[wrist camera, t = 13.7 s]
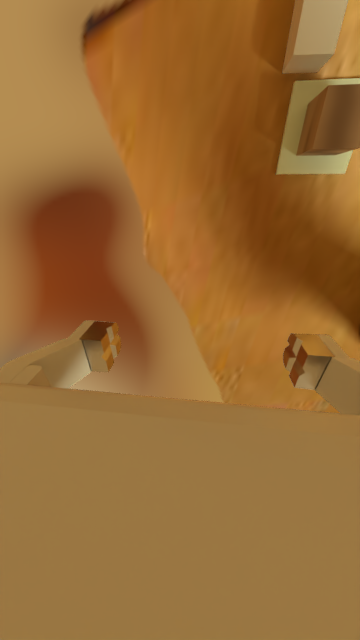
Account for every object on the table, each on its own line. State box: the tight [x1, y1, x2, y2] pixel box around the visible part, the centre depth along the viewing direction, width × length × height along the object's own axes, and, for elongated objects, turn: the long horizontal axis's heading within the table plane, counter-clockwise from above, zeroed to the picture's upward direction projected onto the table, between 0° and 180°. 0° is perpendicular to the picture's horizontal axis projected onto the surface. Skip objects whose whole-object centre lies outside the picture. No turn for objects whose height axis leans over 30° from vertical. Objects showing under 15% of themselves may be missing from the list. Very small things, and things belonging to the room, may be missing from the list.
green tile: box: [275, 78, 360, 175], centre depth 26 cm, size 9×9×1 cm
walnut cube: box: [296, 84, 360, 156], centre depth 24 cm, size 5×5×5 cm
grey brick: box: [282, 0, 348, 74], centre depth 21 cm, size 8×4×4 cm, turn 179°
